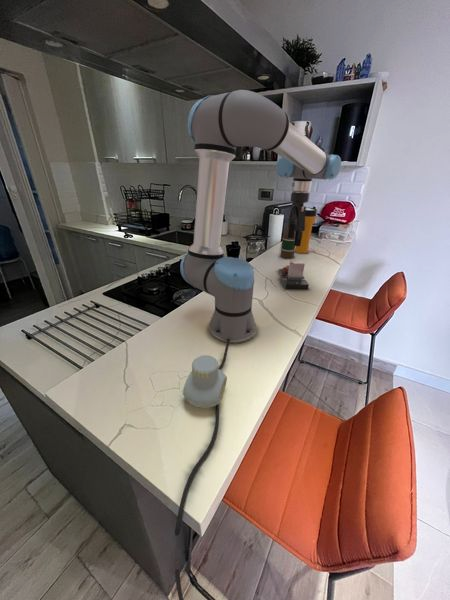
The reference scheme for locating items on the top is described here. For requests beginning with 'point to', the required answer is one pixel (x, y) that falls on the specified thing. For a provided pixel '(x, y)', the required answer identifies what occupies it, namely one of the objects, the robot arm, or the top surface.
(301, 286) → the control panel
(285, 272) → the button block
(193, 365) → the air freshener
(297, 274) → the white upright panel
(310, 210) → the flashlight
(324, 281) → the top surface
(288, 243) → the beer bottle
